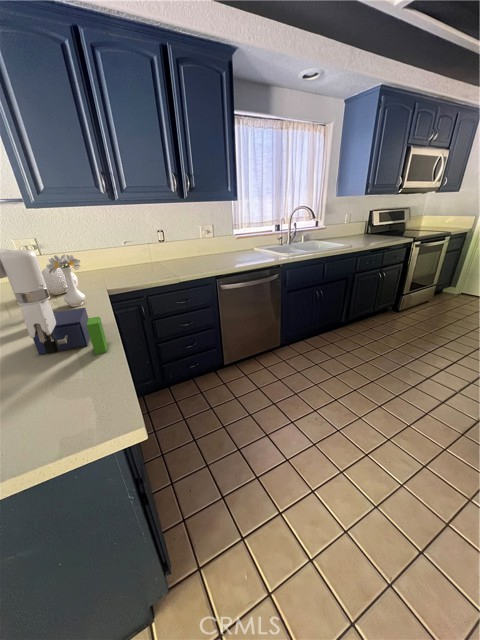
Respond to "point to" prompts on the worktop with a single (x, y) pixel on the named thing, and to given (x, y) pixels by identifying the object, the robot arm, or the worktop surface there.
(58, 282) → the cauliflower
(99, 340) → the green rectangular box
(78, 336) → the drawer
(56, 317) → the cabinet
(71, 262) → the flower vase
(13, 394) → the worktop surface
